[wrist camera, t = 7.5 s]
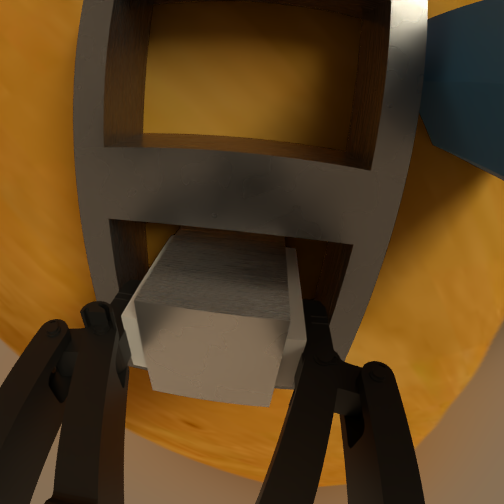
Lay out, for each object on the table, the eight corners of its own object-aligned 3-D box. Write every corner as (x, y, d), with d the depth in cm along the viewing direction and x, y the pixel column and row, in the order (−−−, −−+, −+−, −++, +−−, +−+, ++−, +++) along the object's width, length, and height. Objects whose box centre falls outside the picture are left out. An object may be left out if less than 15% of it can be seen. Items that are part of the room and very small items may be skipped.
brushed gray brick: (186, 217, 15) (133, 300, 9) (283, 228, 15) (290, 321, 9) (187, 296, 18) (152, 390, 11) (271, 306, 18) (268, 407, 11)
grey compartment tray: (133, -29, 9) (97, -55, 5) (392, -12, 9) (425, -38, 5) (135, 321, 20) (115, 362, 16) (323, 343, 20) (330, 390, 16)
